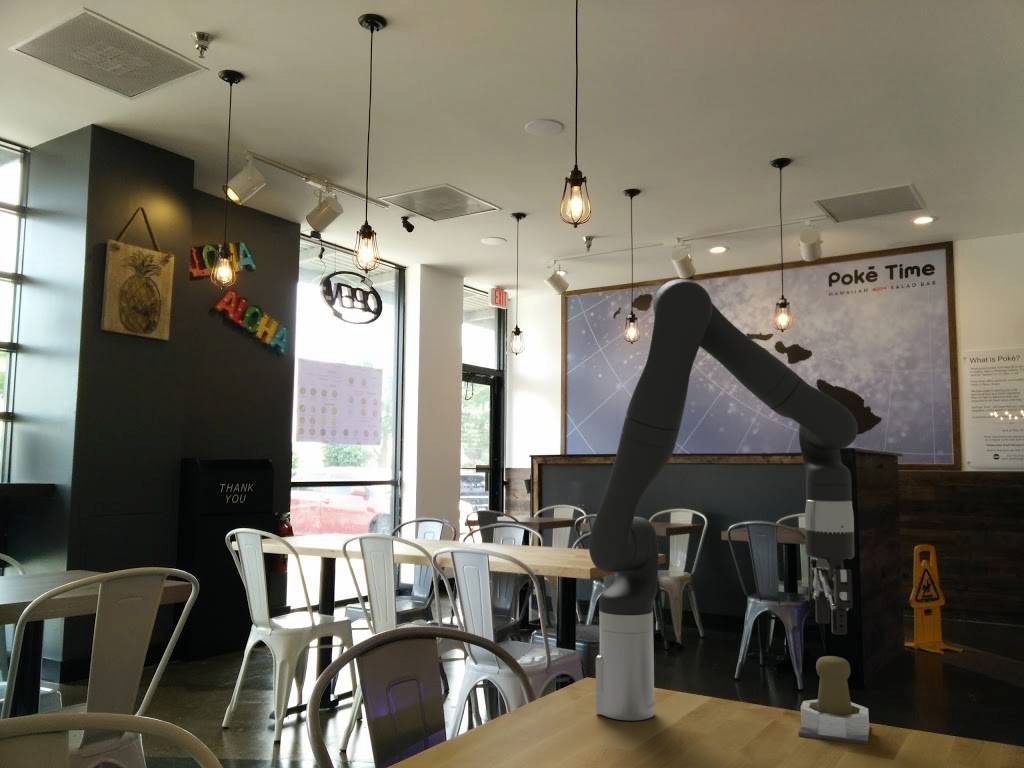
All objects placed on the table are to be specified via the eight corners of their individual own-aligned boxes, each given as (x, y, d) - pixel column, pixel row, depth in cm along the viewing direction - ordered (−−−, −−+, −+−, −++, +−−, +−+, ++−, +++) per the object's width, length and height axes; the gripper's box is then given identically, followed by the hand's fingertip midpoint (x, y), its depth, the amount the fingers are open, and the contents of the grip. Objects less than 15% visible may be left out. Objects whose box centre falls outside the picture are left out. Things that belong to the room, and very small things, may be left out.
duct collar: (798, 736, 133) (798, 712, 134) (805, 718, 142) (804, 696, 143) (867, 745, 129) (866, 720, 129) (870, 726, 138) (869, 703, 138)
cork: (842, 721, 139) (840, 652, 140) (863, 732, 133) (860, 661, 134) (808, 722, 138) (805, 653, 139) (827, 734, 132) (824, 662, 133)
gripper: (868, 532, 132) (870, 639, 131) (838, 524, 146) (840, 620, 145) (818, 531, 132) (820, 637, 131) (794, 523, 146) (795, 619, 145)
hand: (830, 628), depth 138 cm, fingers open, 8 cm apart
